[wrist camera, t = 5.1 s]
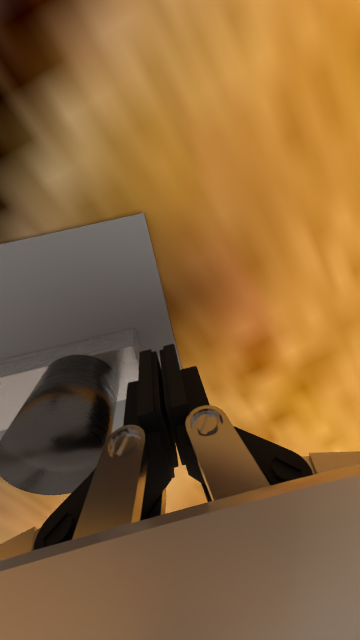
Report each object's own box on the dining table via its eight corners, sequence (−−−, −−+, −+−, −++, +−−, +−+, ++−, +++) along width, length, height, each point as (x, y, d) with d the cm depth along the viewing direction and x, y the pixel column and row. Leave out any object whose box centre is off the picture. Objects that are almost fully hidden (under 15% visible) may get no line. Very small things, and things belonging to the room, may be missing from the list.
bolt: (149, 375, 14) (151, 471, 9) (-50, 424, 14) (-176, 558, 8) (132, 323, 13) (123, 400, 7) (-91, 376, 12) (-276, 500, 7)
